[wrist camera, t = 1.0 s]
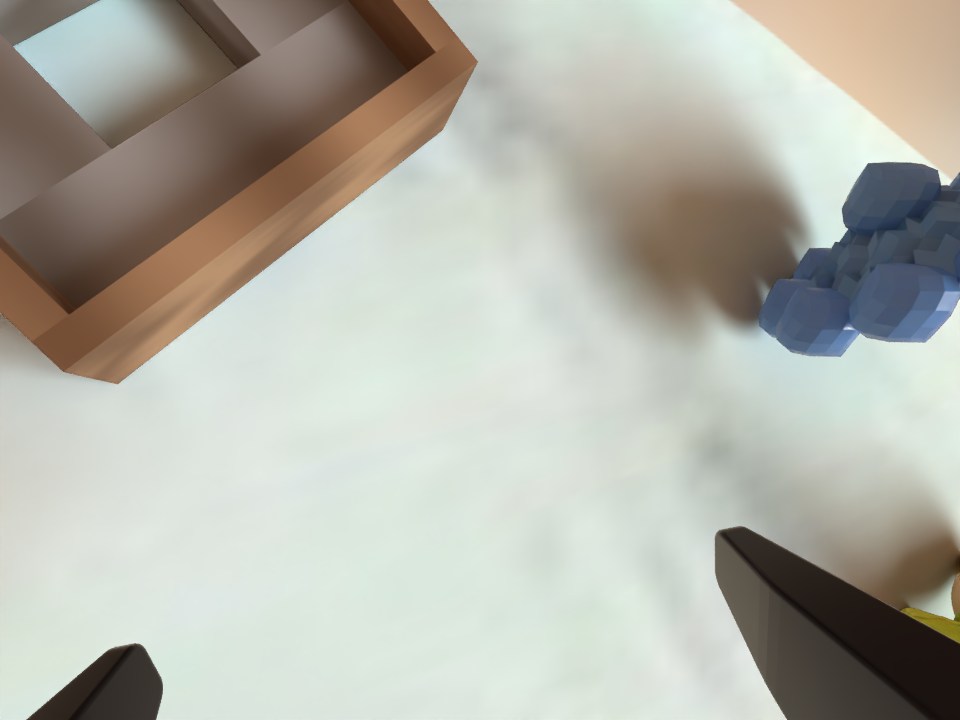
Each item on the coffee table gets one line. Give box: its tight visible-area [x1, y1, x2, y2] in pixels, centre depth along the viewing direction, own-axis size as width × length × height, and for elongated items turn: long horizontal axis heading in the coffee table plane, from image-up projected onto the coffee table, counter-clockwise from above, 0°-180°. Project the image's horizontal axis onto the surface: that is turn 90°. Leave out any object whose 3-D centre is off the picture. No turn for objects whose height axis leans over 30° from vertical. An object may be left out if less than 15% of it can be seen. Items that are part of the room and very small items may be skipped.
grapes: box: [759, 162, 960, 356], centre depth 22 cm, size 12×7×12 cm, turn 128°
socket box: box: [0, 0, 478, 384], centre depth 17 cm, size 15×15×4 cm
